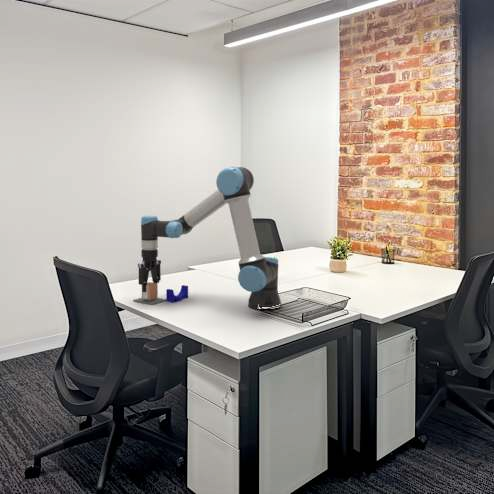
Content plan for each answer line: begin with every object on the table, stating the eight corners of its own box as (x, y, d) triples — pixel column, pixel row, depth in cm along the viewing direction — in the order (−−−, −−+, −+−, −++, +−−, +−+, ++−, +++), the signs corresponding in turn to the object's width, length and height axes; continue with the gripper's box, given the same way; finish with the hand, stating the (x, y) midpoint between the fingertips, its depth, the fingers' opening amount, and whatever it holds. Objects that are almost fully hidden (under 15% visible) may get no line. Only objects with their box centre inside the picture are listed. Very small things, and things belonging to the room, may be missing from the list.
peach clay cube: (157, 297, 249) (157, 283, 248) (150, 299, 244) (150, 285, 243) (149, 295, 252) (149, 282, 251) (141, 298, 247) (141, 284, 246)
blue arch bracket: (173, 303, 246) (173, 290, 245) (166, 301, 248) (166, 289, 247) (190, 298, 255) (190, 286, 254) (183, 297, 258) (183, 285, 257)
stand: (166, 300, 249) (166, 288, 248) (152, 305, 241) (152, 292, 240) (147, 297, 255) (147, 285, 255) (133, 301, 247) (132, 288, 246)
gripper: (156, 245, 254) (156, 292, 258) (129, 250, 239) (130, 300, 242) (168, 247, 250) (168, 294, 254) (141, 252, 235) (142, 302, 238)
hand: (150, 297), depth 248 cm, fingers closed on peach clay cube, 5 cm apart
